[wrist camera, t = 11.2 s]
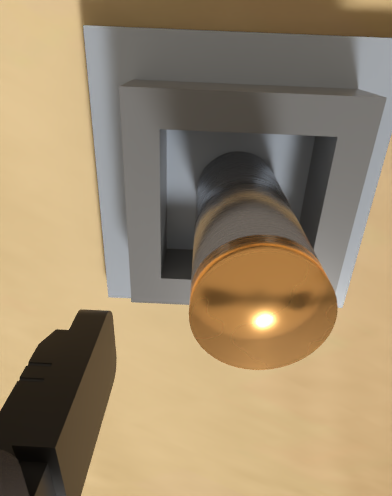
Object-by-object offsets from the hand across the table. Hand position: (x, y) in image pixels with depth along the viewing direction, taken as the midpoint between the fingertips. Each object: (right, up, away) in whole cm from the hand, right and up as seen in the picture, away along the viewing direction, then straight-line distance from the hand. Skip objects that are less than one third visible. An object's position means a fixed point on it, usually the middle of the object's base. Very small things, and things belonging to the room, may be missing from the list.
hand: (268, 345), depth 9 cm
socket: (0, +6, +10) cm, 12 cm away
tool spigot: (0, +5, +10) cm, 11 cm away
